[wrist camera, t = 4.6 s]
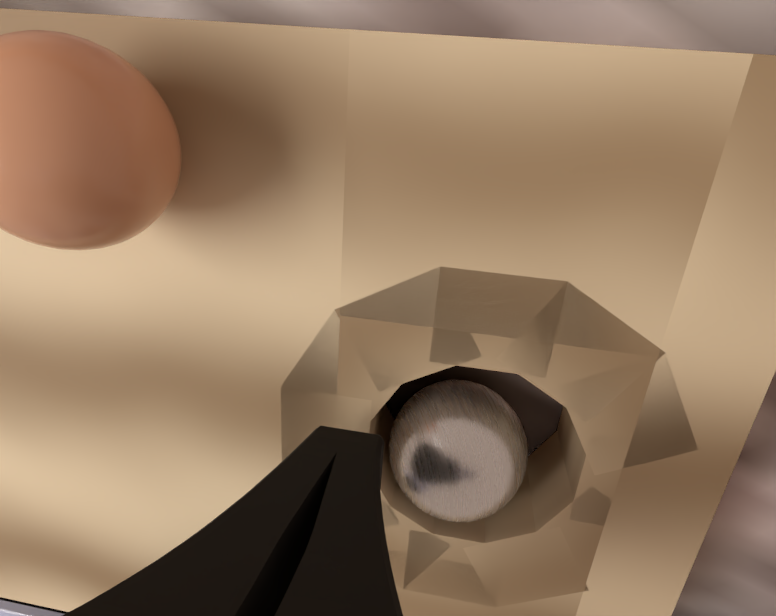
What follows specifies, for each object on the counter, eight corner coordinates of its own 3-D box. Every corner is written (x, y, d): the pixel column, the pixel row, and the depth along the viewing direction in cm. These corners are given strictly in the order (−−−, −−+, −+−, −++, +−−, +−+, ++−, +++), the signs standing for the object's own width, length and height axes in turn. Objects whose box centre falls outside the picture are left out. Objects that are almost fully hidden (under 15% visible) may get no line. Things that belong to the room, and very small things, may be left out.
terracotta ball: (221, 233, 10) (111, 291, 7) (70, 216, 10) (-94, 263, 7) (209, 48, 8) (69, 20, 6) (38, 36, 9) (-176, 5, 6)
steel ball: (544, 528, 12) (413, 566, 11) (489, 425, 14) (380, 452, 14) (564, 442, 10) (407, 484, 9) (497, 340, 12) (370, 368, 12)
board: (599, 641, 16) (621, 733, 13) (20, 525, 18) (-45, 587, 16) (802, 72, 9) (907, 62, 7) (-128, 12, 12) (-272, -9, 10)
